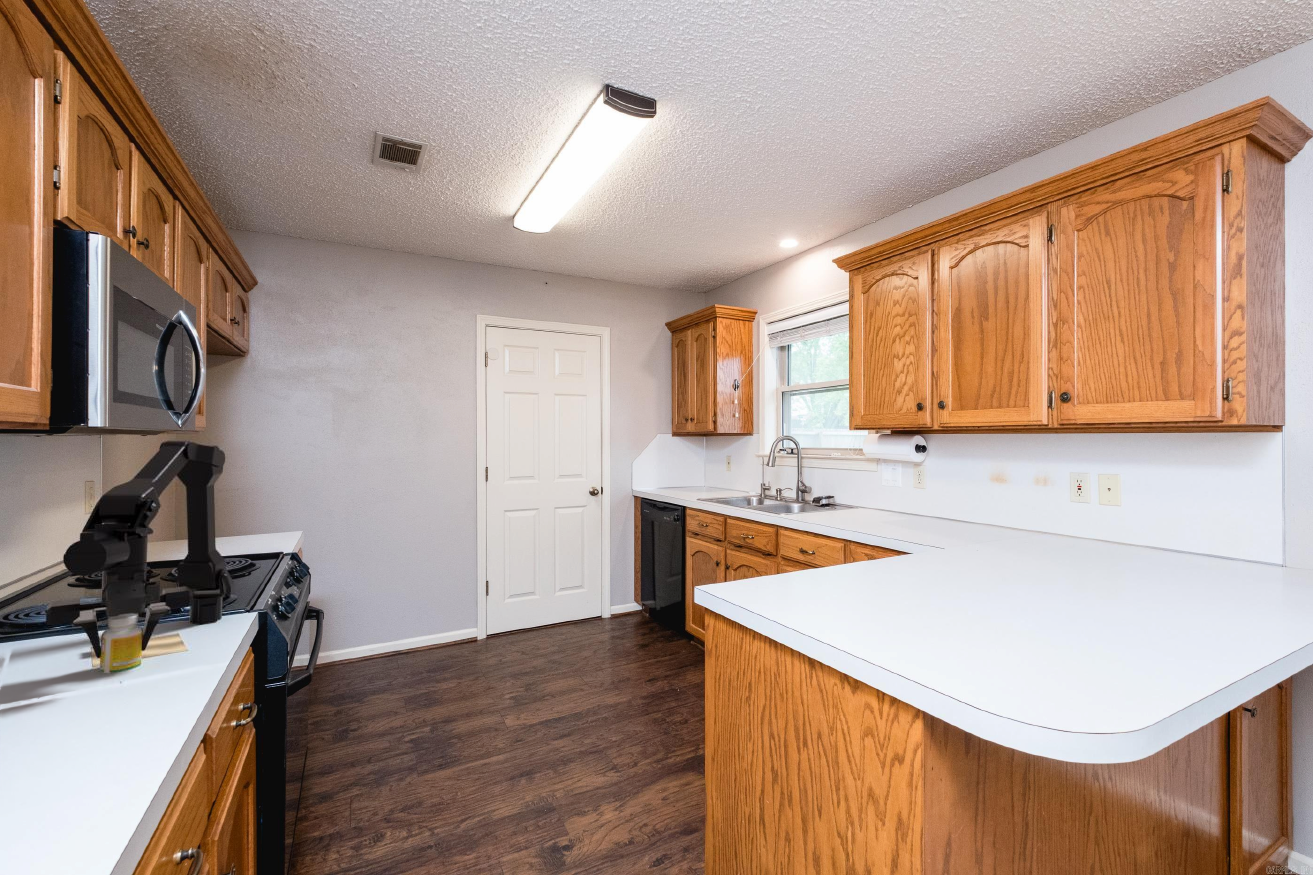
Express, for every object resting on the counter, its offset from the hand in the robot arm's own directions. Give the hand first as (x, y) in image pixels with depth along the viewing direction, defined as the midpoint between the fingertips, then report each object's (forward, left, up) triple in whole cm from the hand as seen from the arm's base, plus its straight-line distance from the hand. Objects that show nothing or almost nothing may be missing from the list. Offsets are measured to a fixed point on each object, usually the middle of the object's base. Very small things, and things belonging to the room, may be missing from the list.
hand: (121, 653), depth 103 cm
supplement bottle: (0, 0, -3) cm, 3 cm away
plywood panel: (-10, +3, -3) cm, 11 cm away
